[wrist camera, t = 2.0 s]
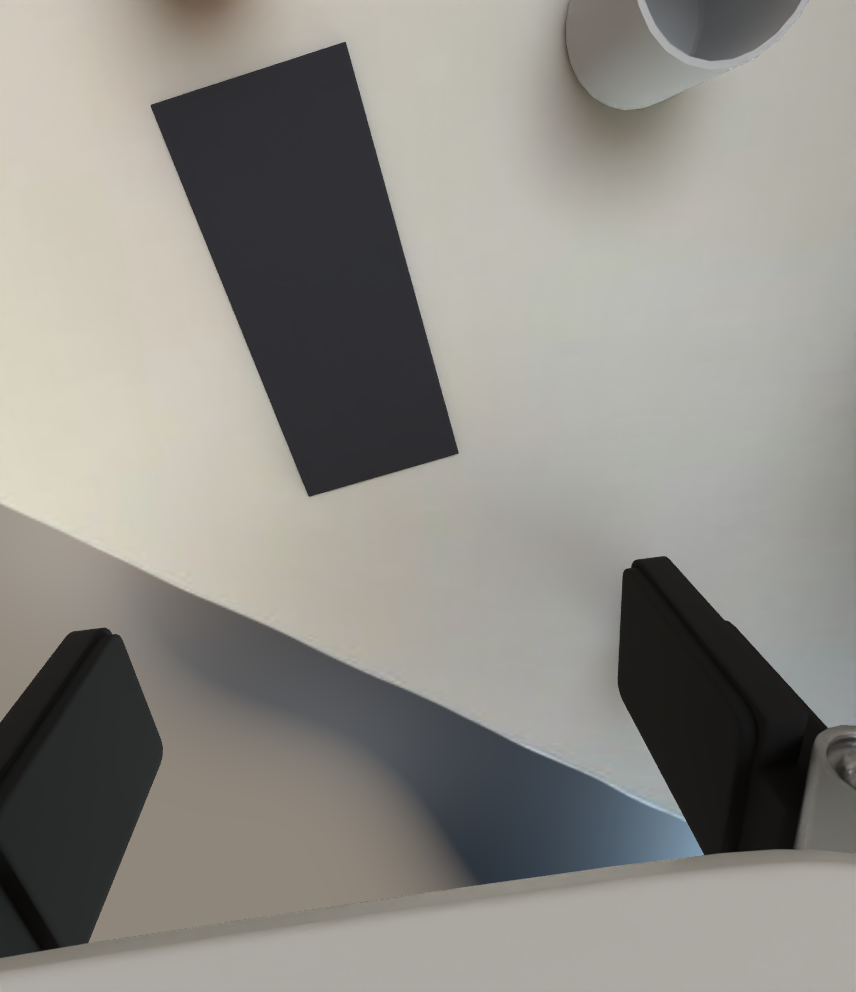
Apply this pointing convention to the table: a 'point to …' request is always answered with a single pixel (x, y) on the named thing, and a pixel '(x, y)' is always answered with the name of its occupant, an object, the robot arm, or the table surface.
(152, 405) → the table surface
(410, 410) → the desk mat
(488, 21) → the table surface
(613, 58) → the cup
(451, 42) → the table surface
